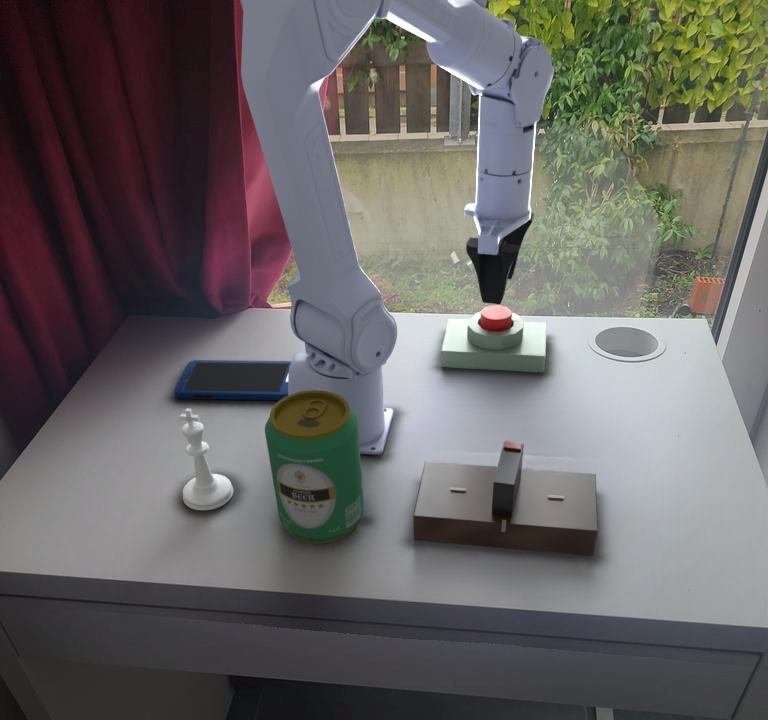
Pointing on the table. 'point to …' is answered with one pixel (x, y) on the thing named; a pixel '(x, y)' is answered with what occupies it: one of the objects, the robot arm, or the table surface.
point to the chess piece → (202, 471)
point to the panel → (530, 514)
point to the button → (496, 318)
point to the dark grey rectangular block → (507, 478)
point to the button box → (494, 345)
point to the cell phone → (234, 380)
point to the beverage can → (315, 465)
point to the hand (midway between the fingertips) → (497, 289)
